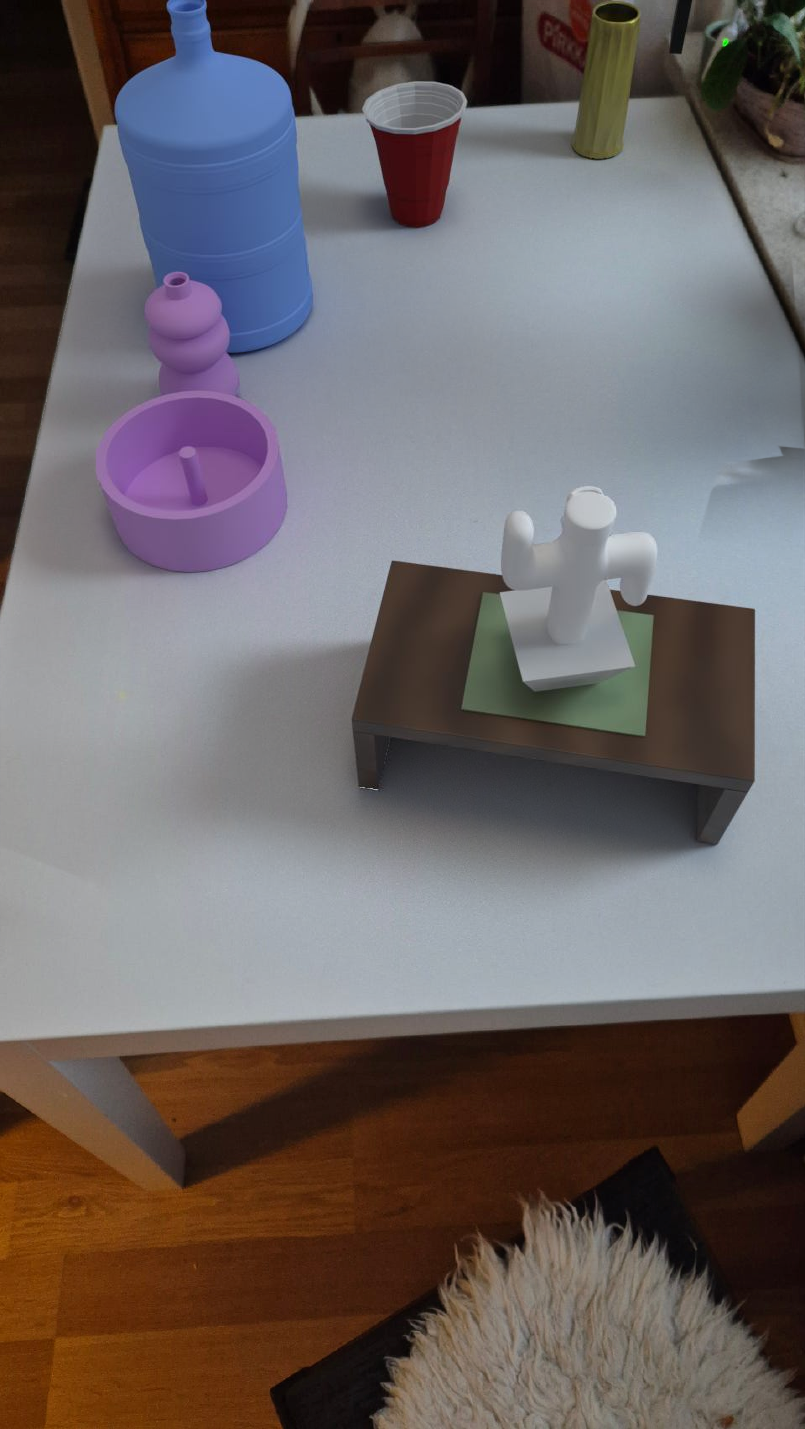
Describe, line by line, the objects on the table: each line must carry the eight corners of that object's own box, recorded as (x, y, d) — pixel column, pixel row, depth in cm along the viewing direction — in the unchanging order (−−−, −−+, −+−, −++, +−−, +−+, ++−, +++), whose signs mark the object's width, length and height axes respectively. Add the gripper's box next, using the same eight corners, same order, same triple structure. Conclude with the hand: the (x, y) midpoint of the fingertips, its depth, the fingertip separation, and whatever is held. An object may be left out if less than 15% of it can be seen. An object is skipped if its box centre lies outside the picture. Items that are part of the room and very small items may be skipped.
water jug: (274, 372, 99) (229, 65, 76) (135, 336, 102) (50, 31, 79) (338, 281, 107) (315, -23, 83) (206, 250, 110) (149, -51, 87)
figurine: (641, 696, 67) (693, 542, 54) (501, 715, 66) (520, 563, 53) (613, 610, 70) (655, 448, 58) (480, 628, 70) (493, 467, 57)
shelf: (721, 684, 79) (756, 606, 71) (717, 845, 71) (756, 779, 63) (394, 637, 82) (391, 558, 73) (358, 788, 74) (350, 718, 66)
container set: (289, 564, 86) (269, 447, 75) (109, 578, 85) (62, 462, 74) (282, 372, 99) (265, 248, 88) (127, 382, 99) (89, 259, 88)
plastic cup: (415, 174, 118) (414, 63, 108) (483, 211, 113) (489, 99, 103) (347, 213, 114) (339, 101, 104) (414, 253, 109) (414, 141, 99)
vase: (569, 158, 119) (586, 23, 107) (573, 130, 122) (590, -3, 110) (621, 162, 118) (644, 27, 106) (624, 134, 122) (646, 0, 110)
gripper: (644, -465, 43) (579, 66, 61) (1268, -454, 41) (1009, 98, 59) (654, -499, 47) (590, 9, 65) (1222, -492, 45) (993, 37, 63)
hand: (787, 52), depth 62 cm, fingers open, 13 cm apart
